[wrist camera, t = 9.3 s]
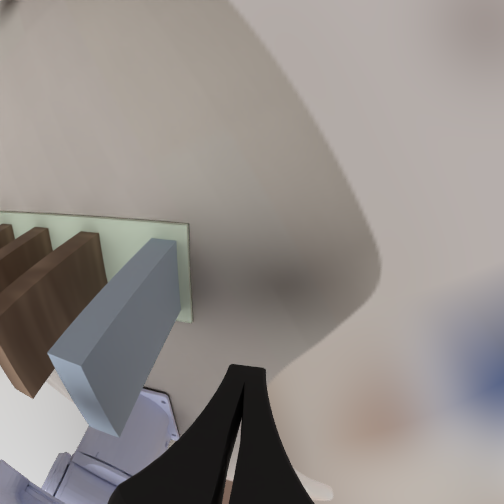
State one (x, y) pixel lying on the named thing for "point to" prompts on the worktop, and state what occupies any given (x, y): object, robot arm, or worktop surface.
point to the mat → (114, 241)
